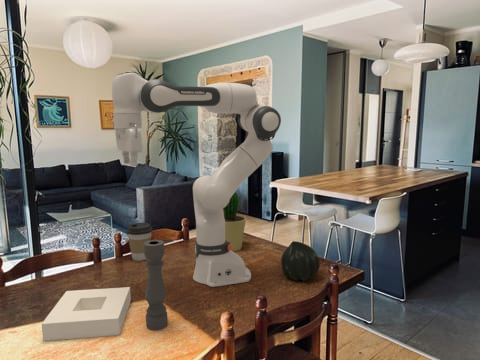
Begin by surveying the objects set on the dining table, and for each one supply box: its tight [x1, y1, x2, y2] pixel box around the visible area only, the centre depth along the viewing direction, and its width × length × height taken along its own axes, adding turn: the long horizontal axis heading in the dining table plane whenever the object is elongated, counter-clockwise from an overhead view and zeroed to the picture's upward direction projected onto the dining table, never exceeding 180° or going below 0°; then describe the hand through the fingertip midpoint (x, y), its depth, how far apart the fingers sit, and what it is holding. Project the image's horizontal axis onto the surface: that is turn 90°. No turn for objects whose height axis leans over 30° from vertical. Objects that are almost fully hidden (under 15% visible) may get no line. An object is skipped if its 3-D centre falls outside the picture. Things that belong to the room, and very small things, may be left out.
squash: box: [280, 240, 320, 282], centre depth 138 cm, size 14×15×15 cm
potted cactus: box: [223, 189, 247, 252], centre depth 171 cm, size 15×15×30 cm
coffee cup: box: [125, 222, 154, 262], centre depth 159 cm, size 11×11×15 cm
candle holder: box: [144, 239, 169, 331], centre depth 104 cm, size 6×6×25 cm
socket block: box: [41, 286, 131, 342], centre depth 108 cm, size 20×20×5 cm
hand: (130, 164), depth 120 cm, fingers open, 8 cm apart
